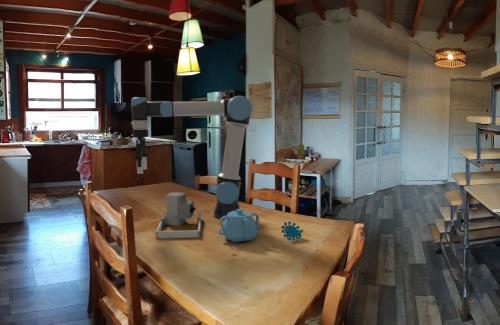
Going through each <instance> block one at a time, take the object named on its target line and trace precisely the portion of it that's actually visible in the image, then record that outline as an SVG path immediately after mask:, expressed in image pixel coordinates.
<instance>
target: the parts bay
mask: <svg viewBox="0 0 500 325" xmlns="http://www.w3.org/2000/svg"><path fill="white" fill-rule="evenodd" d="M201 225H202V220H201V221H199V225H198V227H197V230H196V229H194V230H162V228H163V227H162V221H160V220H159V224H158V226H157V228H156V230H155V239H177V238H178V239H179V238H180V239H181V238H182V239H183V238H184V239H186V238H201Z"/></svg>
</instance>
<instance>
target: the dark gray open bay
mask: <svg viewBox="0 0 500 325" xmlns="http://www.w3.org/2000/svg"><path fill="white" fill-rule="evenodd" d="M166 215H167V212H163V213H162V215H161V216H160V220H159V222H160V221H162V228H165V226H166V225H165V224H166V222H165V216H166ZM196 219H197V220H196V221H197V222H196V226H197V228H198V225H199V221H201V222H202V212H201V211H198V212H197V218H196ZM166 221H167V219H166Z"/></svg>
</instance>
